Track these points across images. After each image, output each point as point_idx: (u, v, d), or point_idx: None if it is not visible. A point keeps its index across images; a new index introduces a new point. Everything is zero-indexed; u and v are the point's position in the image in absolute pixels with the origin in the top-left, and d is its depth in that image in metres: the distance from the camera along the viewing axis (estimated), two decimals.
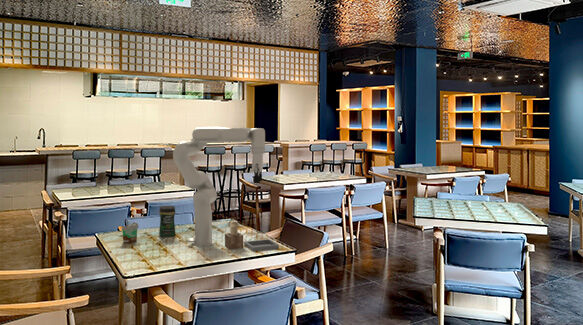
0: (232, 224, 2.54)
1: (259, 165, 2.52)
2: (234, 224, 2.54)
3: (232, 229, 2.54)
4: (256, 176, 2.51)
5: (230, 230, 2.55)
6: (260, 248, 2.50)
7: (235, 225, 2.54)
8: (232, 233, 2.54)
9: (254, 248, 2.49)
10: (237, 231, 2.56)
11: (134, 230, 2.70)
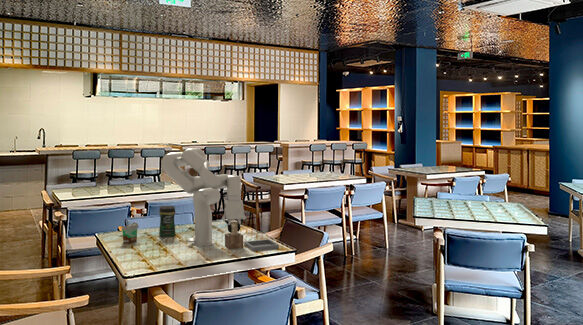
0: (232, 224, 2.54)
1: None
2: (234, 224, 2.54)
3: (232, 229, 2.54)
4: None
5: None
6: (260, 248, 2.50)
7: (235, 225, 2.54)
8: (232, 233, 2.54)
9: (254, 248, 2.49)
10: (237, 231, 2.56)
11: (134, 230, 2.70)
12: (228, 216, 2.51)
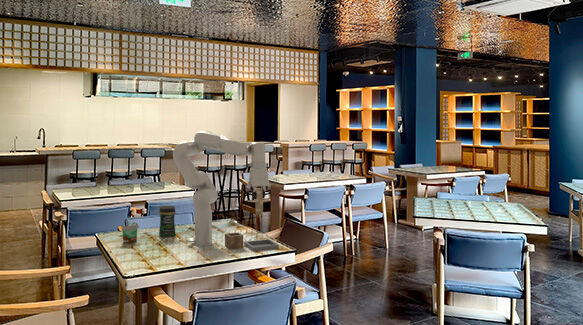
0: (257, 191, 2.54)
1: None
2: (259, 191, 2.54)
3: (257, 196, 2.54)
4: None
5: None
6: (260, 248, 2.50)
7: (260, 192, 2.54)
8: (257, 200, 2.54)
9: (254, 248, 2.49)
10: (262, 198, 2.55)
11: (134, 230, 2.70)
12: (253, 183, 2.51)
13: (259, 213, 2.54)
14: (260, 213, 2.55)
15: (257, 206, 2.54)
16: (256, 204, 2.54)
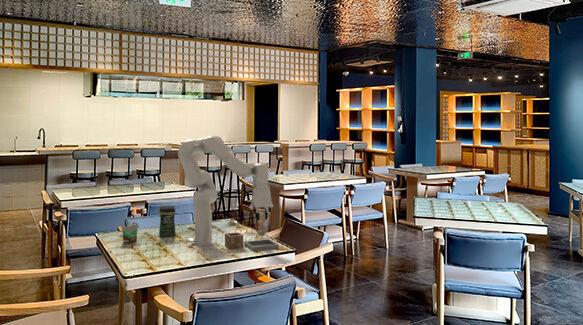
0: (260, 212, 2.55)
1: None
2: (262, 212, 2.55)
3: (260, 217, 2.55)
4: None
5: None
6: (260, 248, 2.50)
7: (263, 213, 2.55)
8: (260, 221, 2.55)
9: (254, 248, 2.49)
10: None
11: (134, 230, 2.70)
12: (256, 204, 2.52)
13: (262, 234, 2.55)
14: (263, 234, 2.56)
15: (260, 227, 2.55)
16: (259, 225, 2.55)
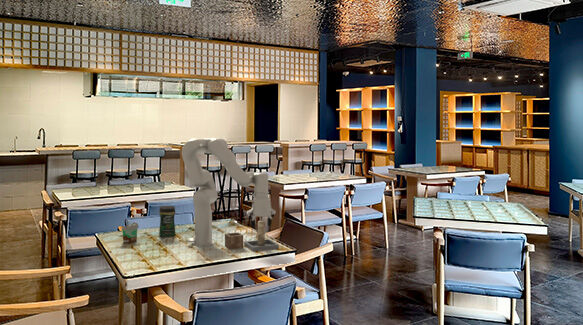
0: (260, 224, 2.55)
1: None
2: (262, 224, 2.55)
3: (260, 229, 2.55)
4: None
5: (258, 230, 2.56)
6: (260, 248, 2.50)
7: (263, 225, 2.55)
8: (260, 233, 2.55)
9: (254, 248, 2.49)
10: (264, 231, 2.57)
11: (134, 230, 2.70)
12: (256, 213, 2.53)
13: None
14: None
15: (259, 239, 2.56)
16: (258, 237, 2.56)
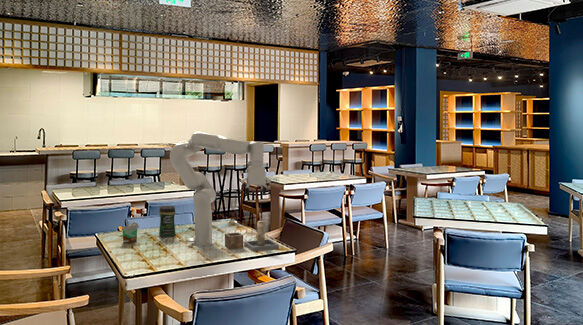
0: (259, 224, 2.55)
1: None
2: (261, 224, 2.55)
3: (259, 229, 2.55)
4: None
5: None
6: (260, 248, 2.50)
7: (262, 225, 2.55)
8: (259, 233, 2.55)
9: (254, 248, 2.49)
10: (264, 231, 2.57)
11: (134, 230, 2.70)
12: (250, 181, 2.56)
13: None
14: None
15: (259, 239, 2.56)
16: (258, 237, 2.56)
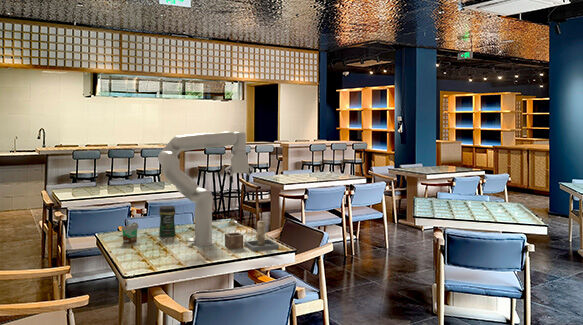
0: (259, 224, 2.55)
1: None
2: (261, 224, 2.55)
3: (259, 229, 2.55)
4: None
5: None
6: (260, 248, 2.50)
7: (262, 225, 2.55)
8: (259, 233, 2.55)
9: (254, 248, 2.49)
10: (264, 231, 2.57)
11: (134, 230, 2.70)
12: (234, 169, 2.70)
13: None
14: None
15: (259, 239, 2.56)
16: (258, 237, 2.56)
